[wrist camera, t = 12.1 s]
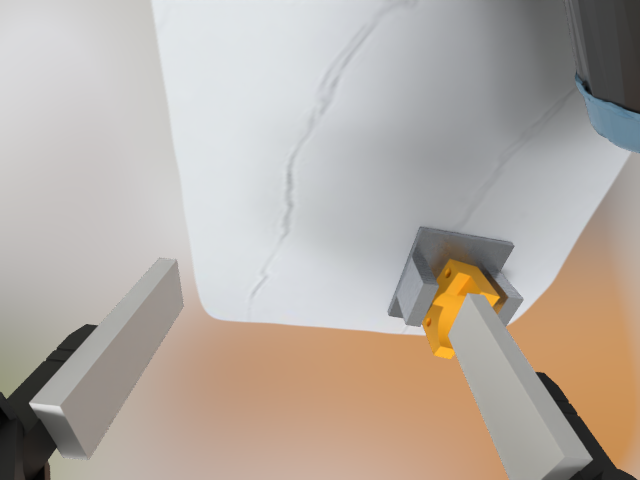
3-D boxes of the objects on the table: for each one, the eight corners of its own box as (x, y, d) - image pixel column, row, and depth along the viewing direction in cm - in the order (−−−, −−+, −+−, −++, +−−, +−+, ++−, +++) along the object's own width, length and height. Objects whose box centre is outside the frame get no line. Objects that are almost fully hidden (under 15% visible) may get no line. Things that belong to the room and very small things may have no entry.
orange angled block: (449, 258, 42) (468, 287, 36) (477, 266, 43) (500, 297, 37) (411, 319, 48) (422, 352, 42) (436, 325, 48) (450, 359, 43)
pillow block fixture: (419, 226, 41) (436, 254, 35) (510, 242, 42) (541, 272, 36) (387, 311, 48) (396, 346, 42) (464, 323, 49) (484, 359, 43)
